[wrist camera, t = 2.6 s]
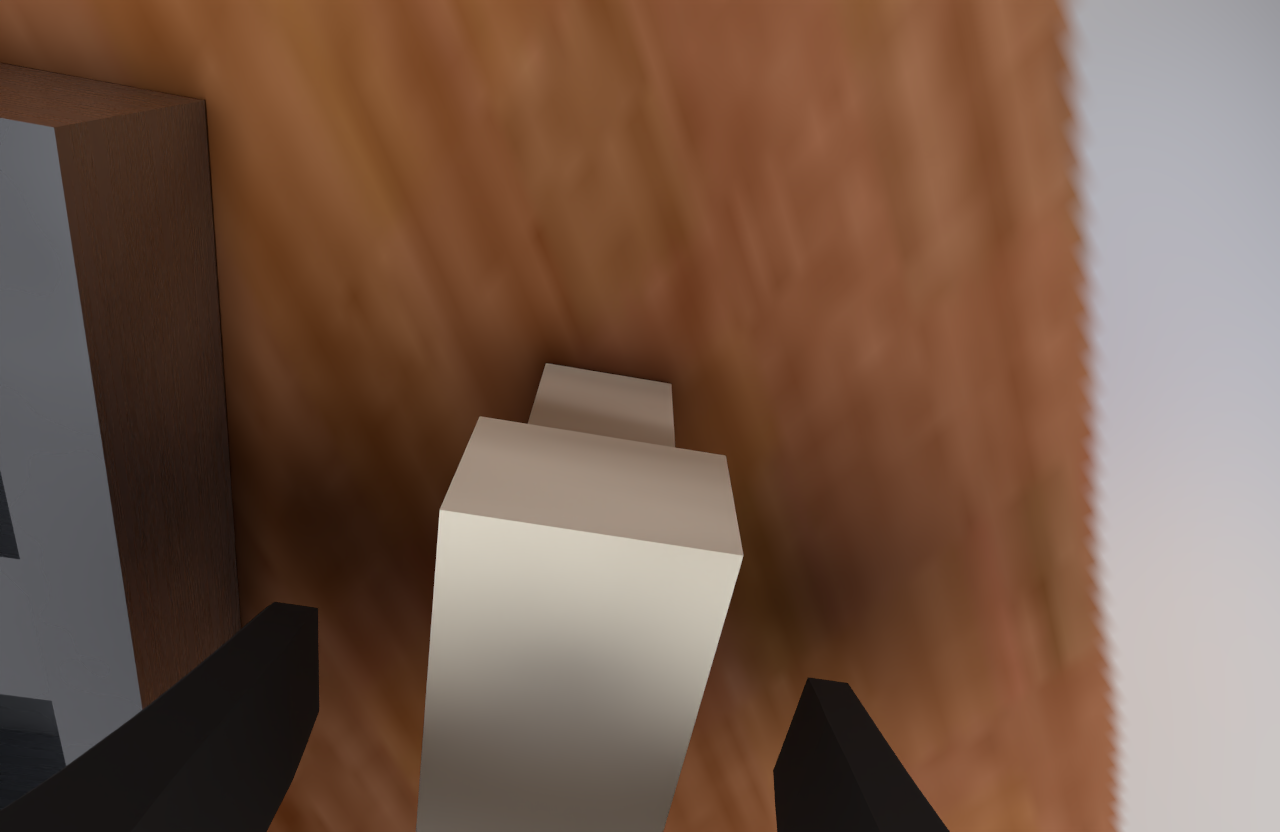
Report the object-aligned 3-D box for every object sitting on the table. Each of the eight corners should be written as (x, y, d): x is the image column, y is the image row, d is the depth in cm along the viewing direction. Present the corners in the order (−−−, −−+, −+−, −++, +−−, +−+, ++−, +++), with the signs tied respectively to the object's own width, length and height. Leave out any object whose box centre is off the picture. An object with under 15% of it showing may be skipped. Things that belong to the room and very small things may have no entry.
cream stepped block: (616, 756, 16) (603, 1035, 12) (471, 737, 16) (403, 1013, 12) (709, 360, 12) (744, 555, 8) (517, 327, 12) (439, 509, 8)
